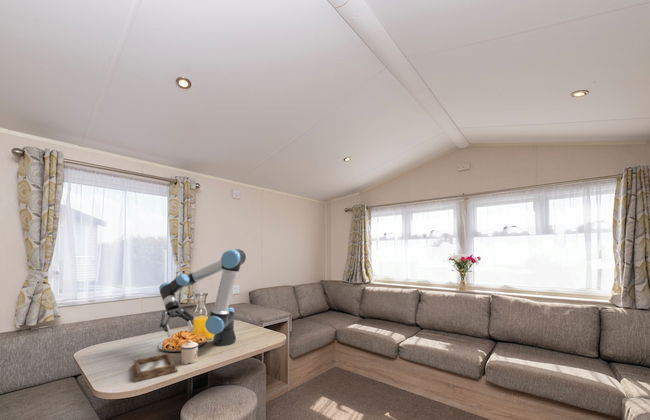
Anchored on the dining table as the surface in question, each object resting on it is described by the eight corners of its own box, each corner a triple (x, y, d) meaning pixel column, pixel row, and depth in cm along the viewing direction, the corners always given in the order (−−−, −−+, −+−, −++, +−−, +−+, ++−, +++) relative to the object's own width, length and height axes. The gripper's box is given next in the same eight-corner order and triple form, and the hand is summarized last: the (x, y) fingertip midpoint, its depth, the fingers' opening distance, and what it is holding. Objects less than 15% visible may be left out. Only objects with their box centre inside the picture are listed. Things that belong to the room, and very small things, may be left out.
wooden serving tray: (169, 359, 173) (170, 352, 173) (177, 372, 155) (177, 364, 156) (131, 367, 161) (132, 360, 162) (135, 382, 144) (135, 374, 144)
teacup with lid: (198, 362, 167) (199, 341, 169) (180, 365, 163) (181, 344, 165) (196, 355, 178) (197, 335, 179) (179, 358, 174) (180, 337, 175)
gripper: (187, 304, 200) (198, 331, 189) (148, 311, 180) (157, 341, 169) (192, 297, 197) (203, 324, 186) (152, 303, 178) (161, 334, 167)
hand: (181, 332), depth 178 cm, fingers open, 13 cm apart
